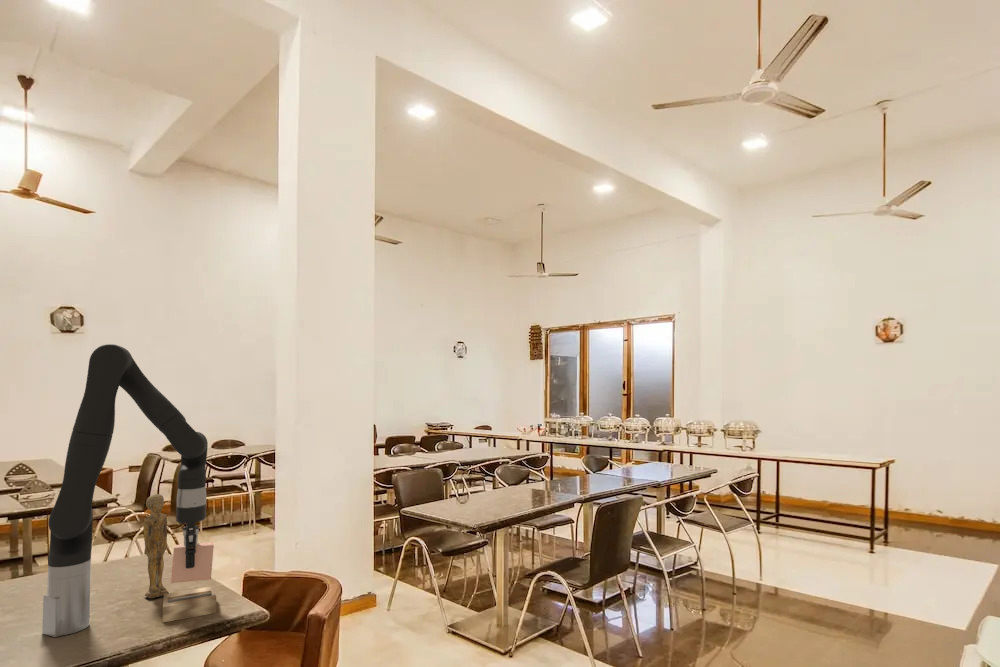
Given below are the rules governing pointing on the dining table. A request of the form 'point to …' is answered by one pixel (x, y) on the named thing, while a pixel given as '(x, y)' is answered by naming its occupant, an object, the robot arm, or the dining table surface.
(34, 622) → the dining table surface
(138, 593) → the dining table surface
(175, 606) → the dispenser
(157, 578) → the sculpture
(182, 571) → the pink square prism
